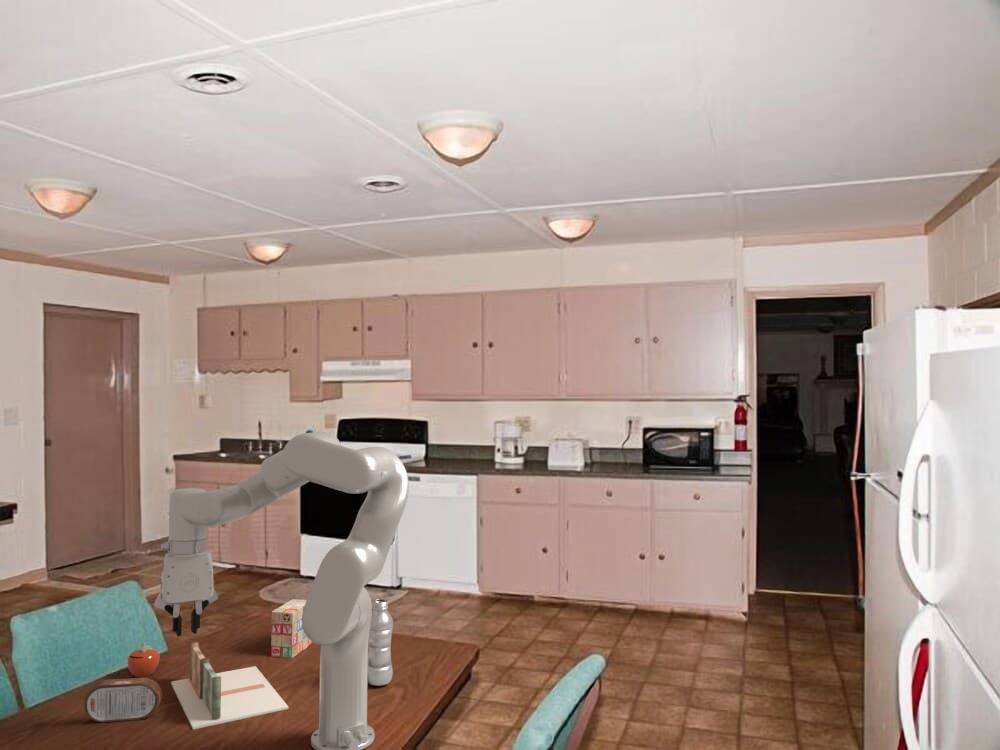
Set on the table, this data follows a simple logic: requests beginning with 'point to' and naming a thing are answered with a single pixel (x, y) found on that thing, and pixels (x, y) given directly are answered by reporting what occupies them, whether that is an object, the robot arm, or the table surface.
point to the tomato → (143, 661)
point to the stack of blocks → (288, 630)
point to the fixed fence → (197, 667)
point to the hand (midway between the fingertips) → (186, 632)
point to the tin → (122, 699)
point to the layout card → (230, 698)
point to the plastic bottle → (380, 645)
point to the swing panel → (212, 691)
